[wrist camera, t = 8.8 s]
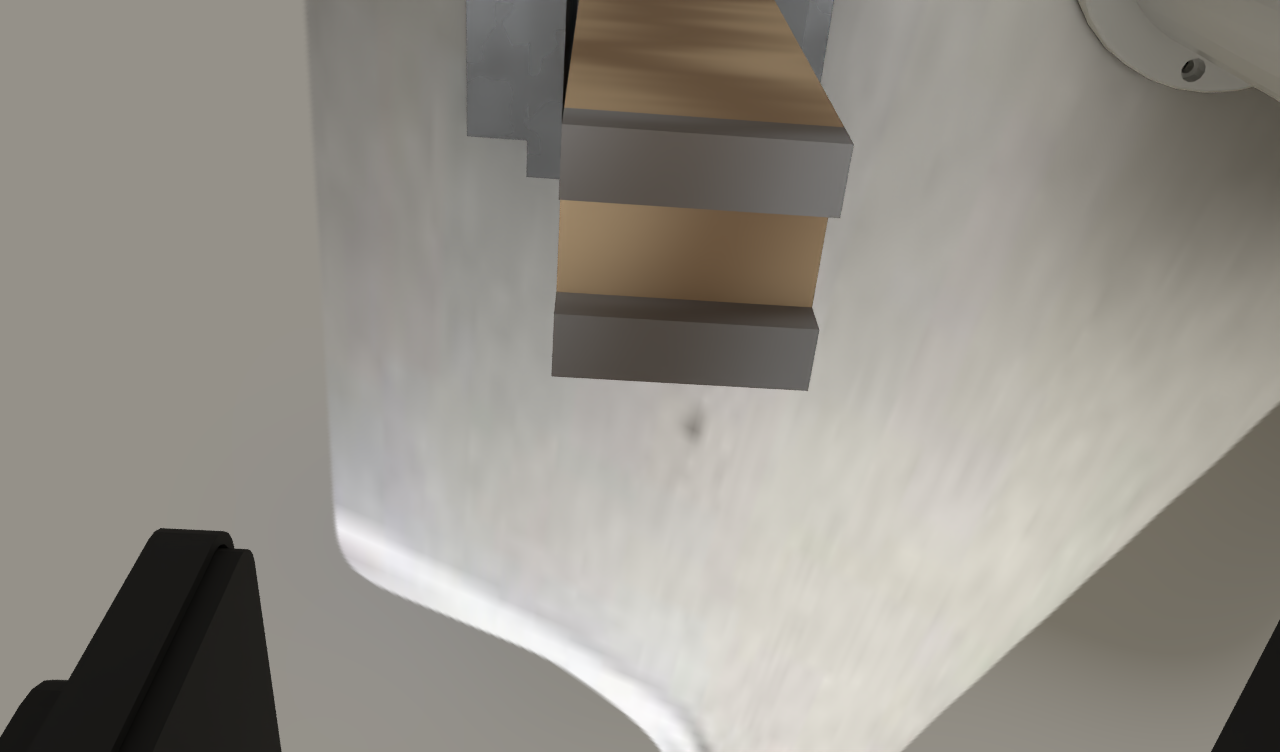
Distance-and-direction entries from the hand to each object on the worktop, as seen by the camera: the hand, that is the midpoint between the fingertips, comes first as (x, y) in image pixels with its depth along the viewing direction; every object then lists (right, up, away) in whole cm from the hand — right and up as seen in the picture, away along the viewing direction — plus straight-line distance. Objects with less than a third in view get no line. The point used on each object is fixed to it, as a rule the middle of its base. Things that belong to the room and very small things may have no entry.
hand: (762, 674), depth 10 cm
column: (-1, +14, +23) cm, 27 cm away
